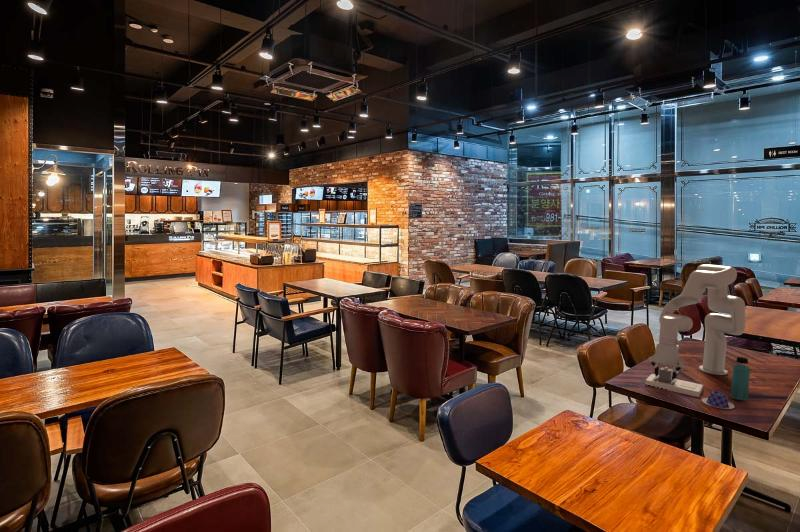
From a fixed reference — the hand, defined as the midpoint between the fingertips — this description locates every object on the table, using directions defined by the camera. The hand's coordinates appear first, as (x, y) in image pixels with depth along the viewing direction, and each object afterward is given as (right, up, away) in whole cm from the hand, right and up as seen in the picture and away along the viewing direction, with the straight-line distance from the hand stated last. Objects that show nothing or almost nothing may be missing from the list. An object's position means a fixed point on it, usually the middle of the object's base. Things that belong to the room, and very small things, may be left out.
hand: (665, 377), depth 218 cm
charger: (0, -4, 0) cm, 4 cm away
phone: (+12, -3, +17) cm, 21 cm away
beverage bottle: (+23, -7, -17) cm, 29 cm away
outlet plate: (+3, -4, -2) cm, 6 cm away
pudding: (+11, -7, -21) cm, 25 cm away
